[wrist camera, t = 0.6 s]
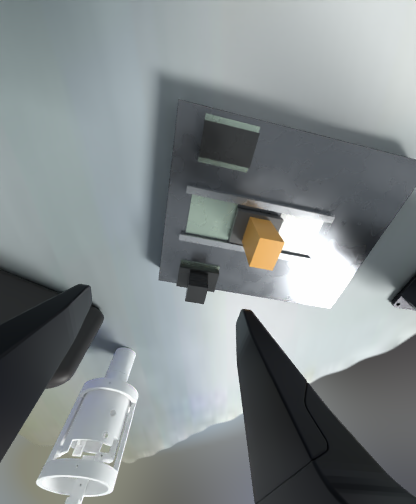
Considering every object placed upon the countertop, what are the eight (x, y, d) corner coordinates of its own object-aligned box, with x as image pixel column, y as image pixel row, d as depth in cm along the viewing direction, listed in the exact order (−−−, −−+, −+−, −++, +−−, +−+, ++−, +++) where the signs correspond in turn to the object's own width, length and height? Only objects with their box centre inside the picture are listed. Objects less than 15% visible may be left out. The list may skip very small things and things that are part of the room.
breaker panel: (410, 160, 18) (474, 169, 14) (321, 297, 26) (344, 330, 22) (181, 102, 16) (171, 92, 12) (162, 270, 24) (151, 300, 20)
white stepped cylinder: (101, 363, 33) (33, 511, 20) (102, 334, 30) (19, 492, 17) (146, 369, 34) (107, 516, 21) (151, 343, 31) (109, 498, 18)
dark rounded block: (-35, 279, 25) (-153, 352, 17) (-33, 251, 23) (-167, 318, 15) (99, 328, 29) (56, 405, 21) (110, 309, 27) (67, 385, 19)
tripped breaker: (280, 216, 18) (302, 241, 14) (268, 245, 20) (284, 276, 16) (237, 207, 18) (245, 230, 14) (228, 238, 19) (233, 267, 15)
